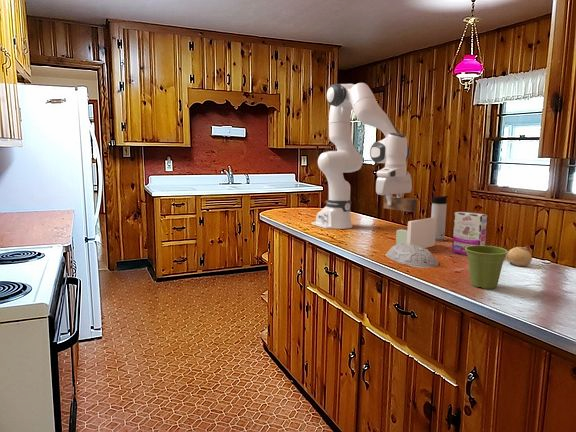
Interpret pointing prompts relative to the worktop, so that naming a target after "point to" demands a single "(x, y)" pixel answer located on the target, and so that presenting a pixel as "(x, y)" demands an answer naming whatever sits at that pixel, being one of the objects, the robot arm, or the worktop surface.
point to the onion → (519, 256)
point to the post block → (418, 233)
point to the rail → (401, 204)
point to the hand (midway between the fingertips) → (393, 204)
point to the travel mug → (439, 216)
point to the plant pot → (485, 265)
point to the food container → (412, 255)
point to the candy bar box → (468, 231)
